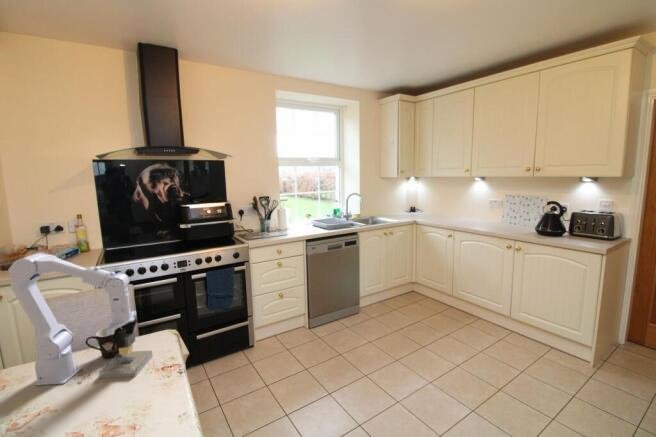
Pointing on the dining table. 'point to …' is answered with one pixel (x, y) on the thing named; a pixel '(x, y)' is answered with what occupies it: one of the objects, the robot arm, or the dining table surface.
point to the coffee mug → (105, 344)
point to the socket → (126, 365)
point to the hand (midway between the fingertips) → (124, 343)
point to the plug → (127, 344)
